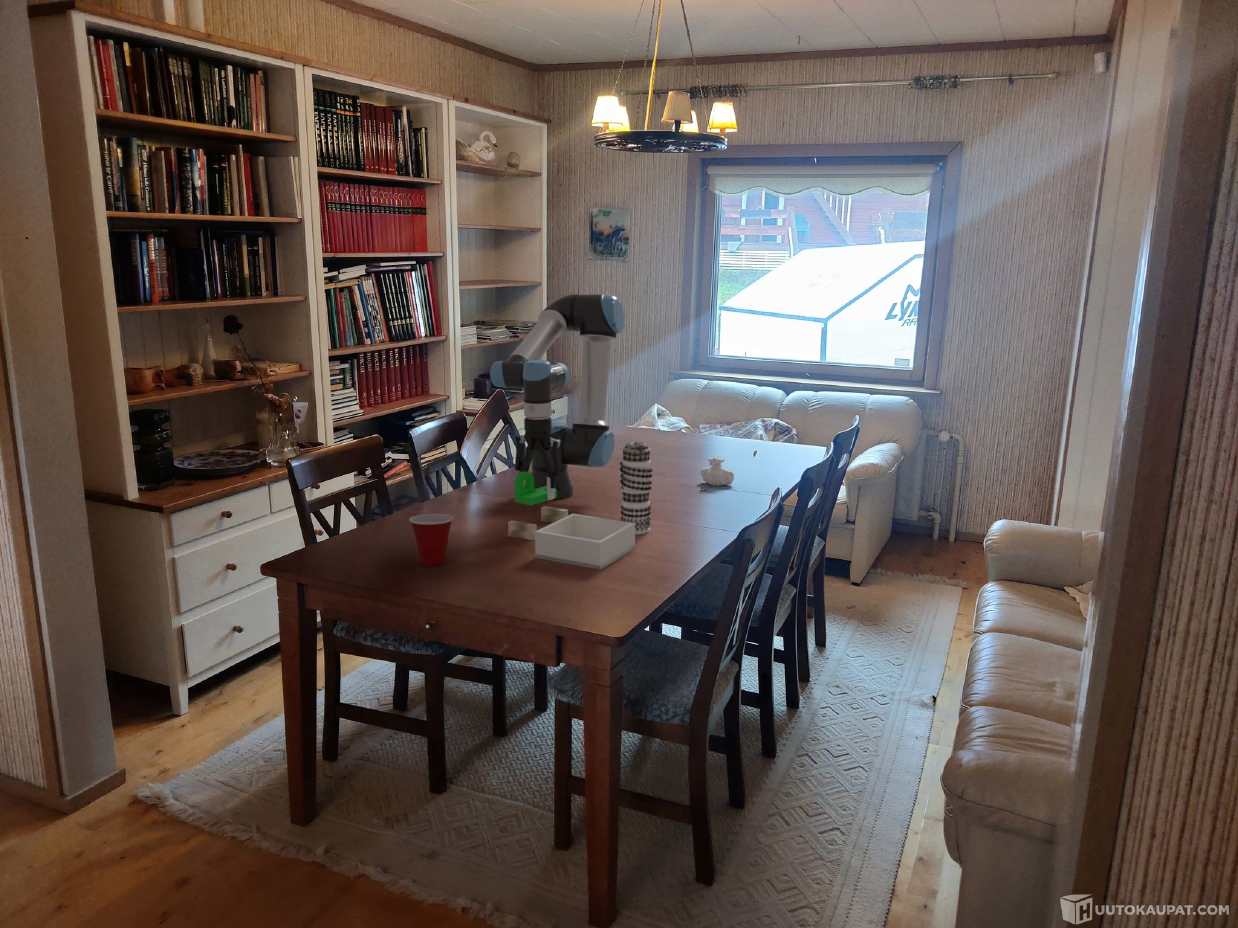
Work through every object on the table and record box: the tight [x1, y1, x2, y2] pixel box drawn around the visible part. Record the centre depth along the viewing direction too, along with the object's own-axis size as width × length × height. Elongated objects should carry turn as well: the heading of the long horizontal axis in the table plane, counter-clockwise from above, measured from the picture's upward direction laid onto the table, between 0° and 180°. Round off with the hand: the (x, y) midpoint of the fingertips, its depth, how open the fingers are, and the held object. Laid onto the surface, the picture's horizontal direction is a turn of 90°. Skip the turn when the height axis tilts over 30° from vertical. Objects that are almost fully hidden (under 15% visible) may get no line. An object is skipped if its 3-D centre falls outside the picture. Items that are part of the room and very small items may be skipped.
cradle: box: [507, 505, 569, 541], centre depth 255 cm, size 8×19×4 cm, turn 153°
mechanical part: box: [514, 471, 557, 506], centre depth 252 cm, size 12×6×8 cm, turn 138°
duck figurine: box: [699, 455, 735, 487], centre depth 306 cm, size 12×8×11 cm
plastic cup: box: [408, 513, 454, 567], centre depth 225 cm, size 11×11×12 cm
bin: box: [534, 513, 636, 571], centre depth 234 cm, size 19×19×7 cm
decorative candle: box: [619, 441, 653, 535], centre depth 253 cm, size 9×9×25 cm
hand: (539, 497), depth 253 cm, fingers closed on mechanical part, 7 cm apart
